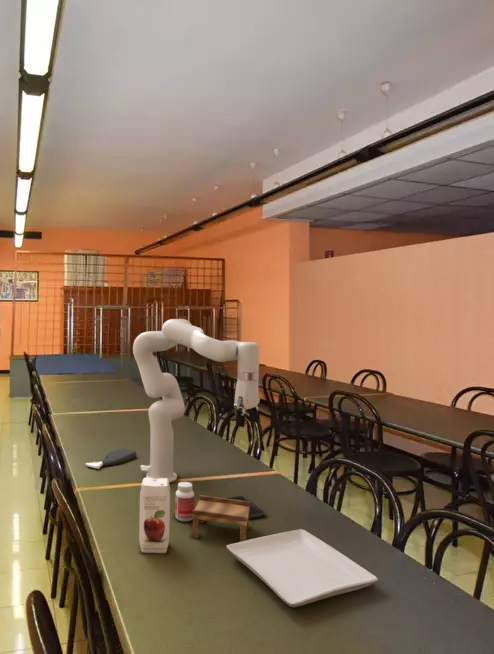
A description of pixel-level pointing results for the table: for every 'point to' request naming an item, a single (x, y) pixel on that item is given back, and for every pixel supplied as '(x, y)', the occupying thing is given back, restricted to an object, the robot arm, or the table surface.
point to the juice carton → (154, 515)
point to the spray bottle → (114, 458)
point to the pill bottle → (184, 502)
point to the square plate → (301, 567)
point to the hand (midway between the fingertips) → (246, 424)
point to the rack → (221, 513)
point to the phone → (251, 508)
